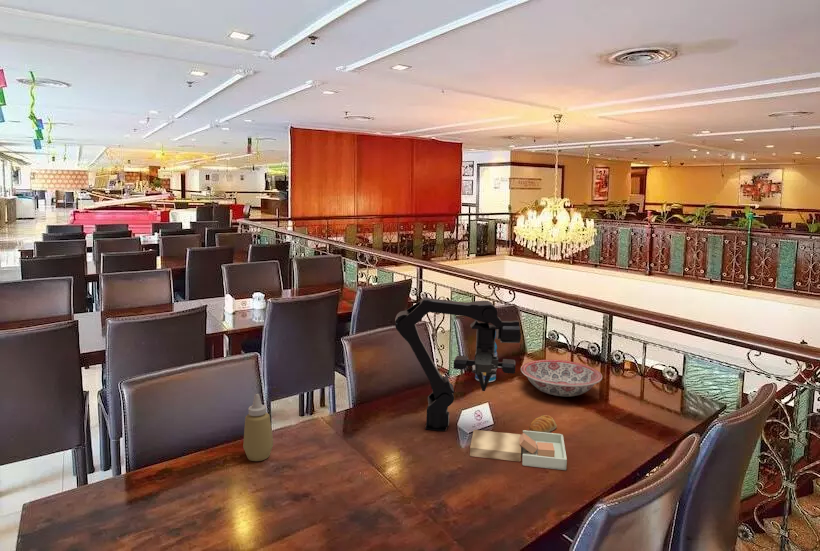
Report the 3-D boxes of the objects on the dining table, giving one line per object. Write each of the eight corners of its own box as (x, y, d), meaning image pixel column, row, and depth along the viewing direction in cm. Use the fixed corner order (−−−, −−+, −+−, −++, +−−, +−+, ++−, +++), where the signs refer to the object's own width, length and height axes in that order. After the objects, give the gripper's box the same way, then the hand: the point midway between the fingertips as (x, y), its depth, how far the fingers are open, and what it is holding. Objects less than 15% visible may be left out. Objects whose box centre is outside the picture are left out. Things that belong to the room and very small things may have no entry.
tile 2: (554, 450, 153) (554, 457, 153) (552, 443, 157) (552, 449, 158) (538, 449, 154) (537, 456, 154) (536, 442, 158) (536, 448, 158)
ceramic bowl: (609, 388, 209) (610, 368, 208) (588, 413, 185) (590, 391, 184) (535, 374, 225) (536, 355, 223) (507, 395, 200) (508, 374, 199)
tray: (522, 465, 149) (522, 455, 149) (522, 439, 165) (523, 430, 164) (566, 470, 147) (566, 459, 147) (562, 443, 163) (562, 434, 162)
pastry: (542, 438, 166) (543, 426, 166) (523, 431, 171) (523, 420, 170) (557, 429, 173) (558, 417, 173) (539, 422, 178) (539, 411, 177)
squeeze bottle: (279, 452, 154) (278, 391, 151) (262, 466, 147) (261, 402, 144) (254, 447, 157) (253, 387, 154) (237, 460, 149) (235, 397, 146)
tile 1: (519, 444, 155) (524, 439, 155) (518, 437, 159) (523, 432, 159) (532, 454, 155) (537, 449, 154) (531, 446, 159) (535, 441, 159)
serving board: (469, 456, 154) (470, 447, 154) (473, 437, 166) (473, 429, 165) (520, 461, 151) (521, 453, 151) (520, 442, 163) (521, 434, 163)
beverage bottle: (497, 383, 213) (499, 333, 210) (475, 382, 213) (477, 332, 210) (494, 375, 221) (496, 327, 218) (473, 375, 221) (475, 327, 218)
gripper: (452, 347, 163) (450, 397, 165) (516, 351, 159) (513, 403, 162) (456, 337, 174) (455, 384, 176) (516, 341, 170) (514, 389, 172)
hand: (483, 390), depth 171 cm, fingers closed
